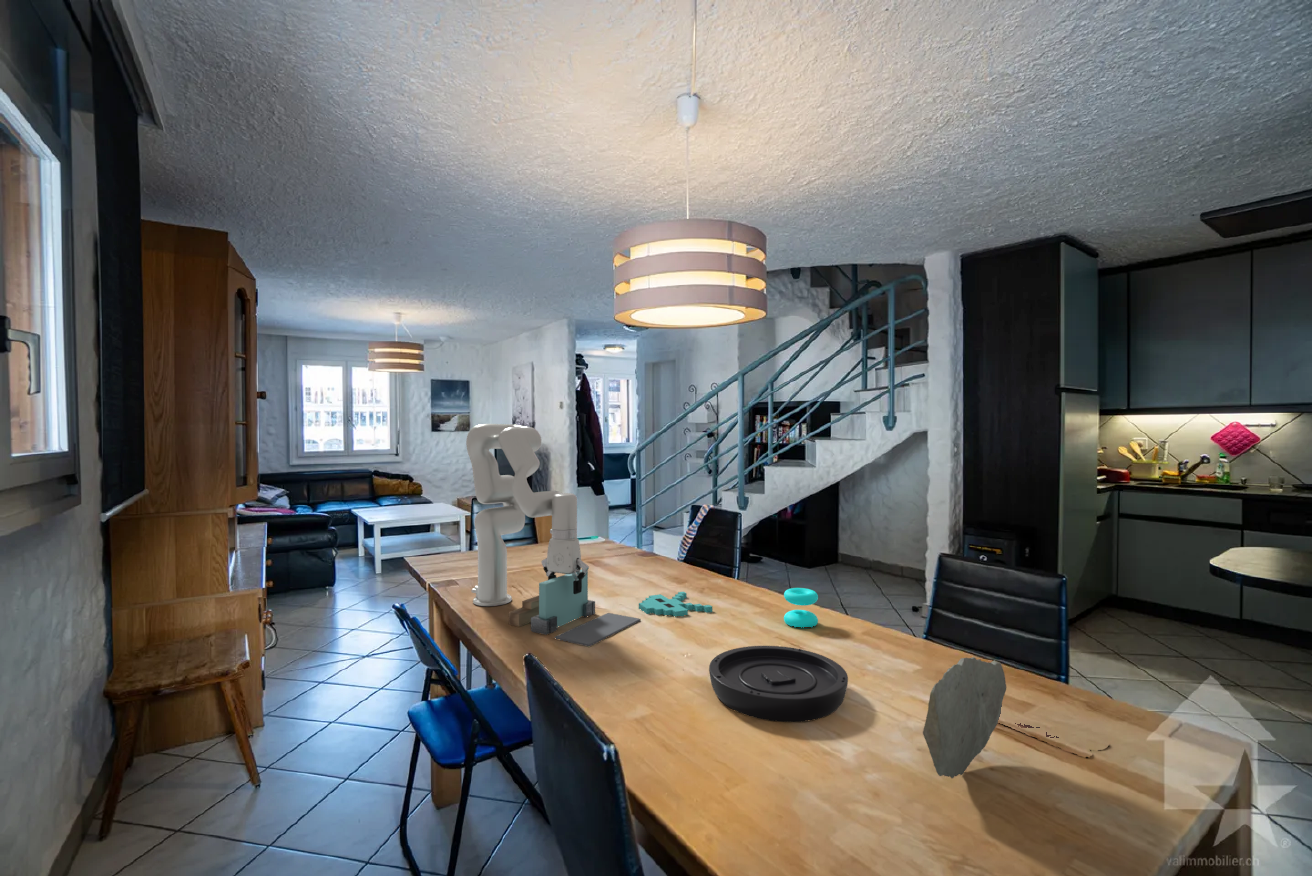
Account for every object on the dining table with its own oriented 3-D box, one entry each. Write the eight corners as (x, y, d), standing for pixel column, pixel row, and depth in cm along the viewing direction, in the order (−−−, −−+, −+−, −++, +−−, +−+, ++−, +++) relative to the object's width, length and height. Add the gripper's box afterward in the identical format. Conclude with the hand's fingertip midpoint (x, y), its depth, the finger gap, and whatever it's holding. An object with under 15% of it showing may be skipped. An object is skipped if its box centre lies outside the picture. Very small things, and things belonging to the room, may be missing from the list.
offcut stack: (508, 625, 183) (508, 605, 183) (552, 608, 200) (552, 590, 200) (519, 627, 181) (518, 607, 181) (562, 610, 198) (562, 592, 198)
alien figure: (683, 597, 214) (630, 604, 206) (683, 591, 214) (630, 598, 206) (712, 613, 196) (655, 621, 187) (712, 606, 196) (655, 614, 187)
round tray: (797, 661, 155) (688, 677, 145) (797, 638, 155) (688, 652, 144) (878, 713, 127) (749, 738, 116) (878, 684, 127) (749, 706, 116)
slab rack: (530, 631, 176) (530, 617, 176) (580, 611, 196) (580, 598, 196) (546, 635, 174) (546, 620, 173) (595, 613, 194) (595, 601, 193)
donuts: (824, 591, 183) (805, 597, 177) (824, 624, 183) (805, 632, 177) (796, 585, 191) (777, 590, 184) (796, 617, 191) (777, 623, 184)
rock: (971, 738, 116) (972, 633, 116) (1008, 750, 111) (1009, 641, 111) (913, 797, 97) (914, 672, 97) (954, 815, 93) (955, 684, 92)
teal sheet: (539, 631, 177) (539, 583, 177) (581, 613, 194) (581, 569, 194) (545, 632, 176) (545, 584, 176) (587, 614, 193) (587, 570, 193)
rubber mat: (554, 638, 170) (554, 636, 170) (608, 614, 193) (608, 612, 193) (589, 646, 164) (589, 644, 164) (640, 620, 187) (640, 618, 187)
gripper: (534, 533, 186) (534, 590, 186) (579, 538, 177) (580, 597, 177) (550, 530, 192) (550, 584, 192) (595, 535, 183) (595, 592, 184)
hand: (564, 591), depth 185 cm, fingers open, 9 cm apart
